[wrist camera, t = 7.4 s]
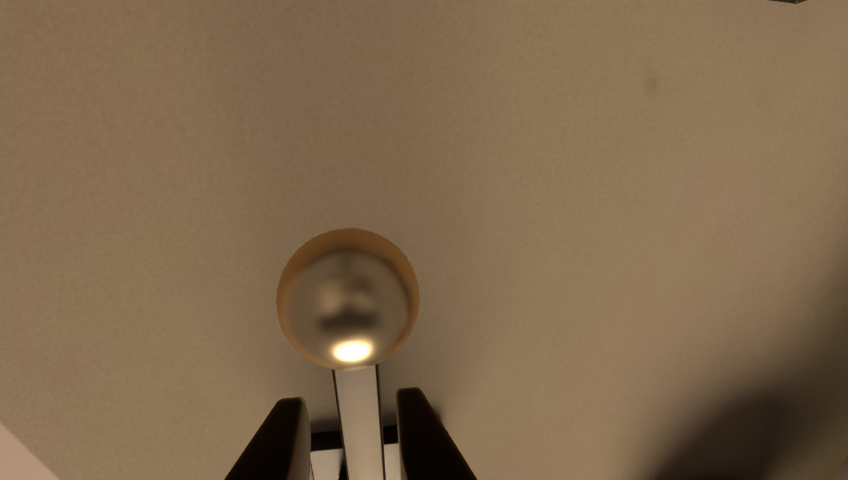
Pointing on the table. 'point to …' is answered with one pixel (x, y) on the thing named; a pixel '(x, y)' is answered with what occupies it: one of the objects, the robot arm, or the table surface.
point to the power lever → (350, 327)
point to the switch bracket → (331, 456)
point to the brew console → (790, 1)
